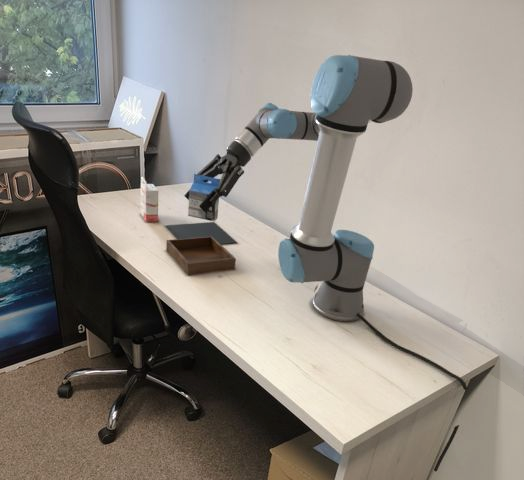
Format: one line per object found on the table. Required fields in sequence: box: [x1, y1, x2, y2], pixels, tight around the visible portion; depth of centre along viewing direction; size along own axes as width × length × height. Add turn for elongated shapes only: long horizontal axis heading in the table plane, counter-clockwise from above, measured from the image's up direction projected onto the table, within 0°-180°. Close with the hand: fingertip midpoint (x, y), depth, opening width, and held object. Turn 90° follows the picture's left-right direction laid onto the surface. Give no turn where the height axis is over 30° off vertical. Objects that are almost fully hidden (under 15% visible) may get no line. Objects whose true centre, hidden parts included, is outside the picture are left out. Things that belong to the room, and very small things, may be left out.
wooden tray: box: [165, 236, 237, 276], centre depth 158 cm, size 19×17×4 cm
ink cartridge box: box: [140, 176, 159, 223], centre depth 180 cm, size 9×5×15 cm, turn 25°
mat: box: [165, 221, 238, 246], centre depth 177 cm, size 20×20×1 cm
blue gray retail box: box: [187, 173, 221, 223], centre depth 149 cm, size 9×4×12 cm, turn 76°
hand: (194, 203), depth 148 cm, fingers closed on blue gray retail box, 9 cm apart
